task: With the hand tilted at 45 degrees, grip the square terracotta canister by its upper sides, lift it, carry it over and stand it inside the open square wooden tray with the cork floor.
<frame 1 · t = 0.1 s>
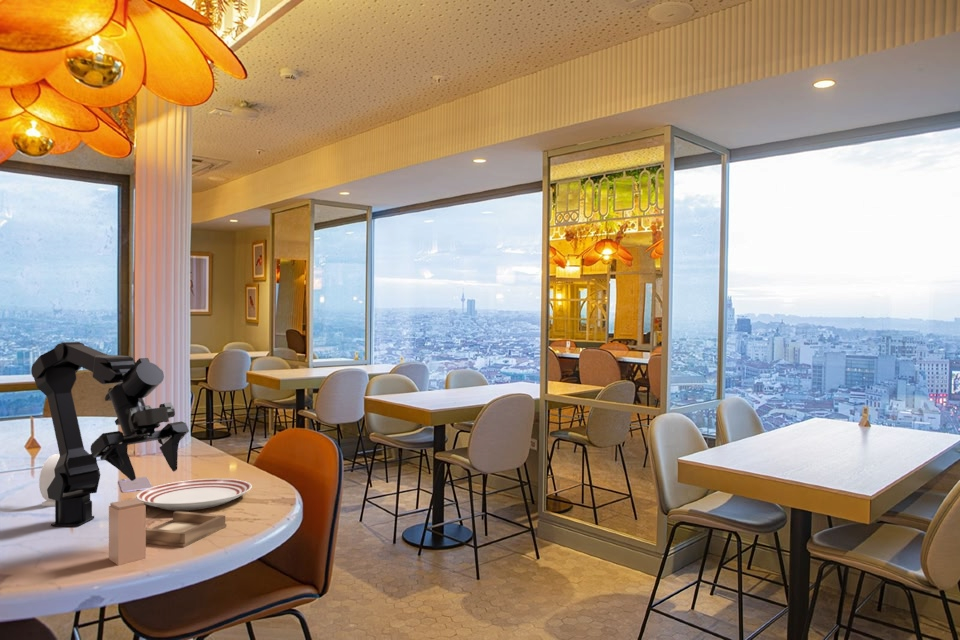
hand: (155, 475, 137), 15 cm above the table, tool tilted 35°, fingers open, 9 cm apart
square wooden tray: (178, 533, 145), on the table
mobile phone: (135, 487, 186), on the table
dinner plate: (195, 502, 171), on the table
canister: (127, 558, 130), on the table
headphone stand: (56, 504, 168), on the table
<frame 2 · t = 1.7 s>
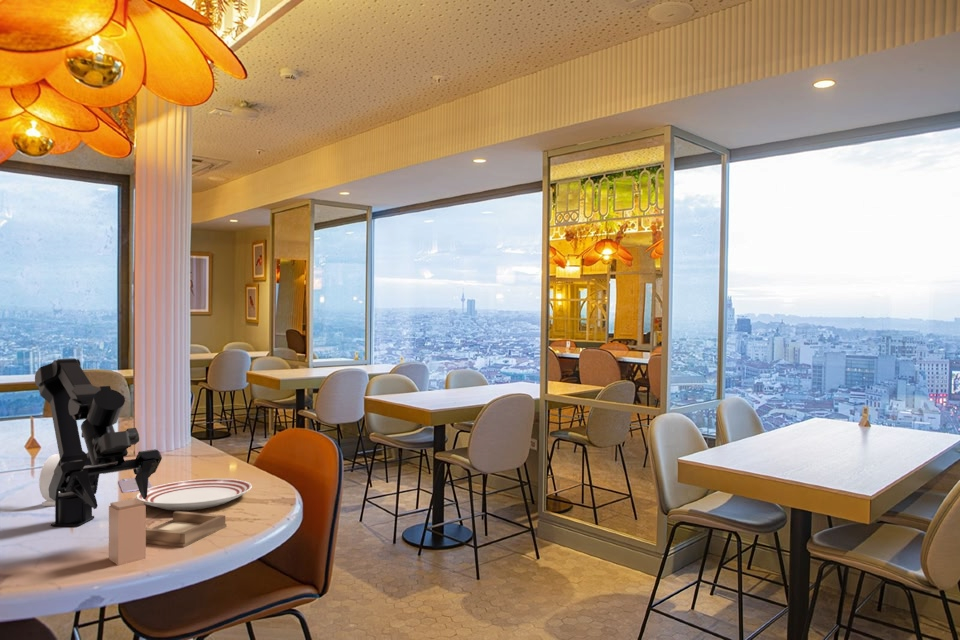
hand: (121, 502, 132), 10 cm above the table, tool tilted 45°, fingers open, 9 cm apart
nothing on the table moved.
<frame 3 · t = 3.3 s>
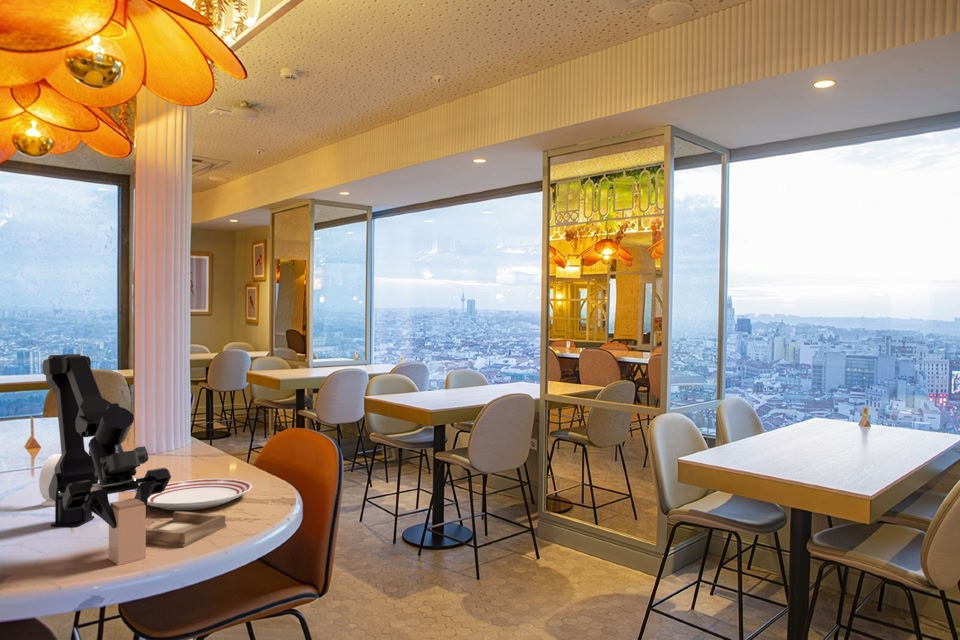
hand: (130, 523, 129), 7 cm above the table, tool tilted 45°, fingers closed on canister, 5 cm apart
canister: (127, 558, 130), on the table, touching gripper
everything else where it was.
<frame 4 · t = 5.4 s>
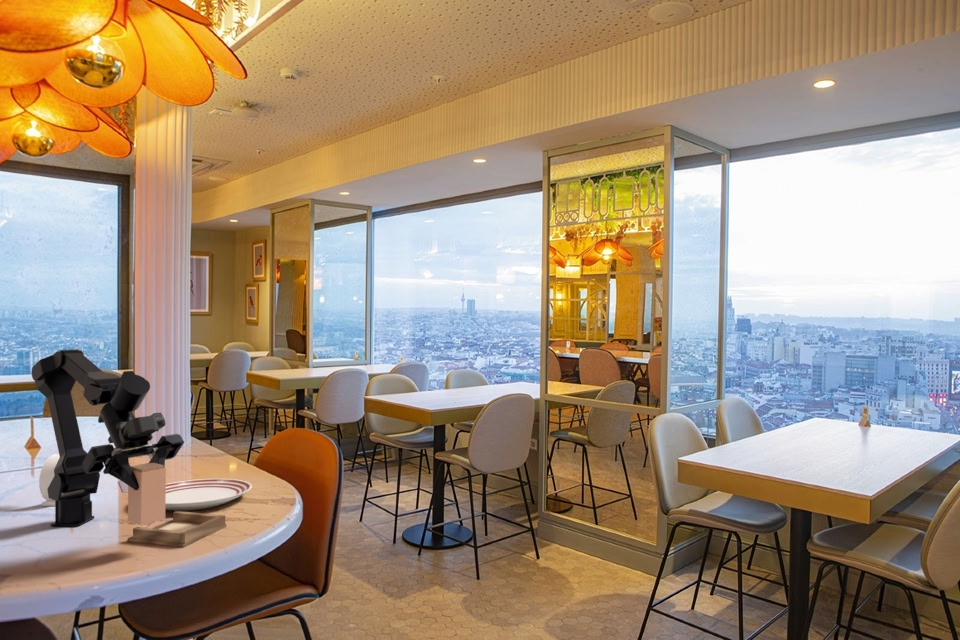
hand: (150, 486, 133), 13 cm above the table, tool tilted 45°, fingers closed on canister, 5 cm apart
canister: (146, 519, 134), point 6 cm above the table, touching gripper
everything else where it was.
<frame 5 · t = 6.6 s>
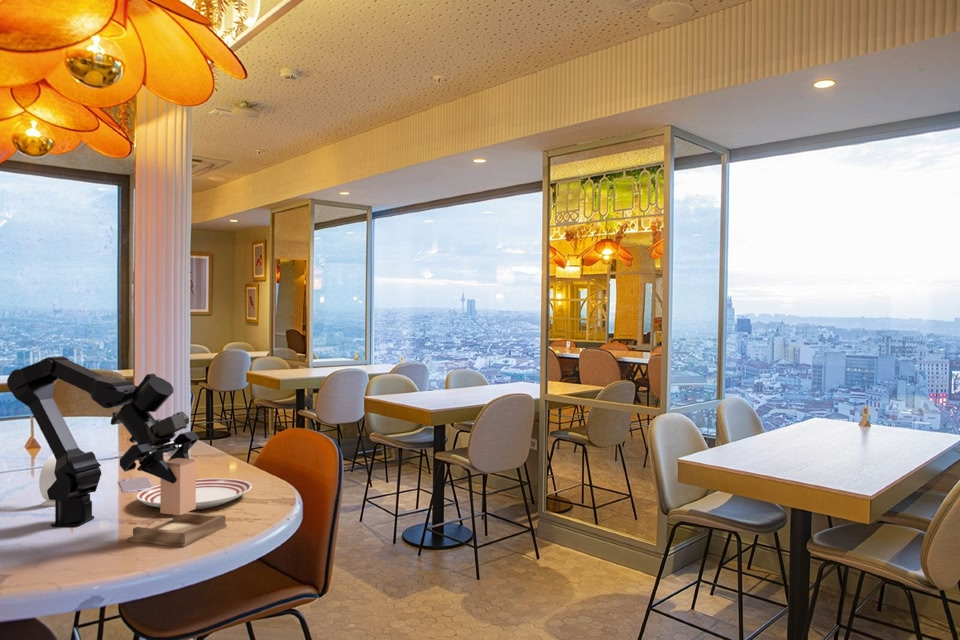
hand: (183, 479, 144), 12 cm above the table, tool tilted 45°, fingers closed on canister, 5 cm apart
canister: (178, 510, 145), point 5 cm above the table, touching gripper
everything else where it was.
when the fingers open (9 cm above the table, at t = 7.6 s): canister drops 1 cm, resting on square wooden tray.
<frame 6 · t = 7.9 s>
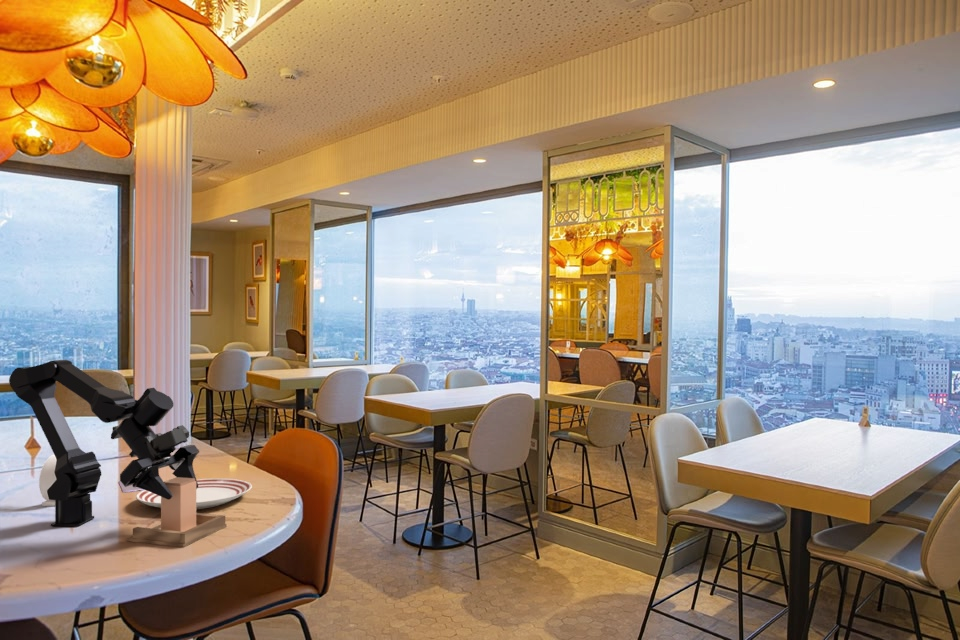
hand: (184, 493, 144), 9 cm above the table, tool tilted 45°, fingers open, 8 cm apart
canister: (178, 530, 145), point 1 cm above the table, touching square wooden tray
everything else where it was.
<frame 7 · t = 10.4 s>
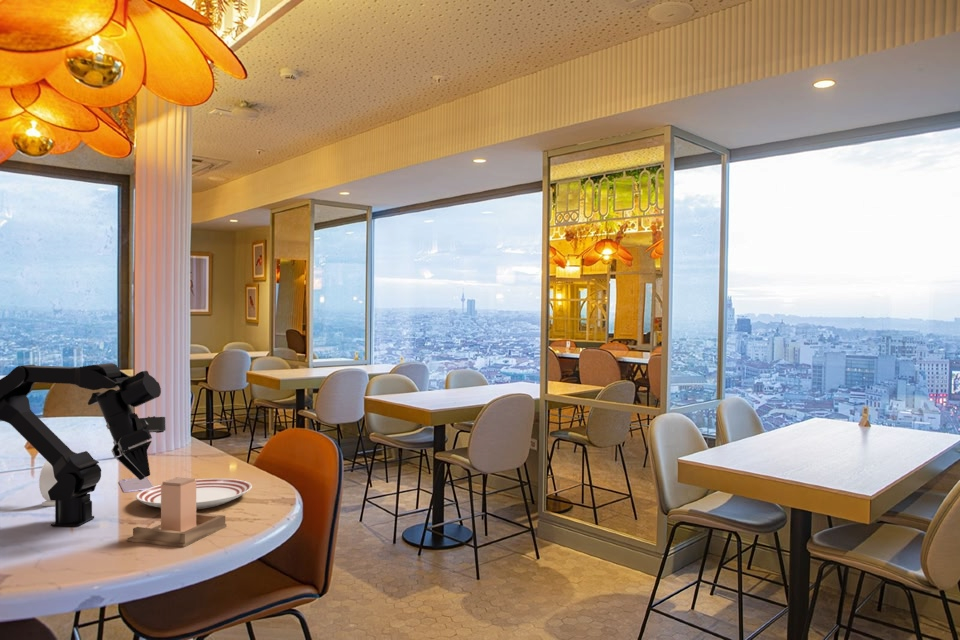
hand: (145, 477, 151), 11 cm above the table, tool tilted 25°, fingers open, 9 cm apart
nothing on the table moved.
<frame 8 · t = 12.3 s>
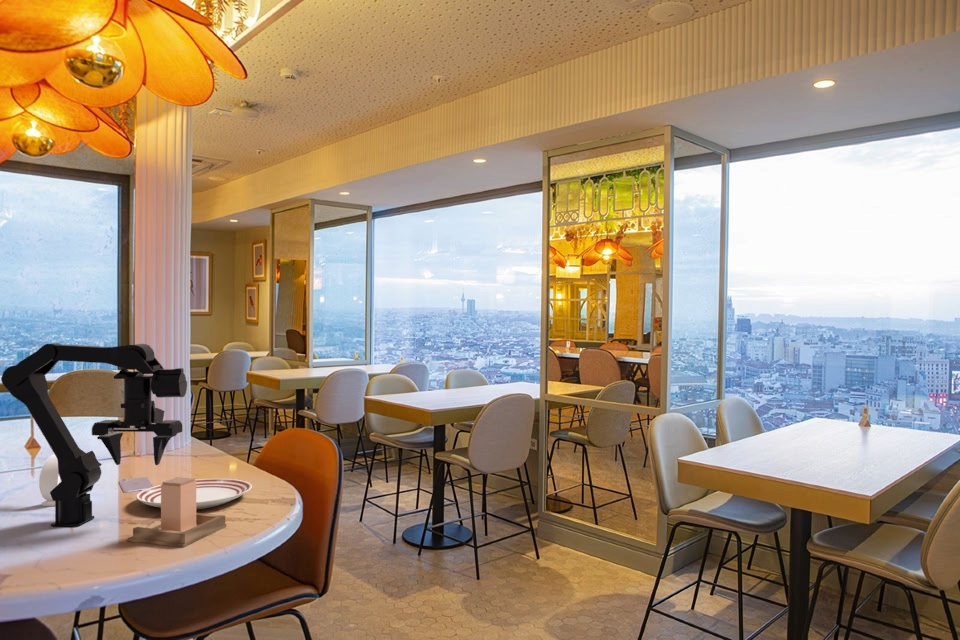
hand: (137, 464, 154), 13 cm above the table, tool pointing down, fingers open, 9 cm apart
nothing on the table moved.
at the end: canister inside the target area on the square wooden tray (0.0 cm from its centre), point 0.7 cm above the square wooden tray's base; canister tilted 0°; the gripper is holding nothing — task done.
